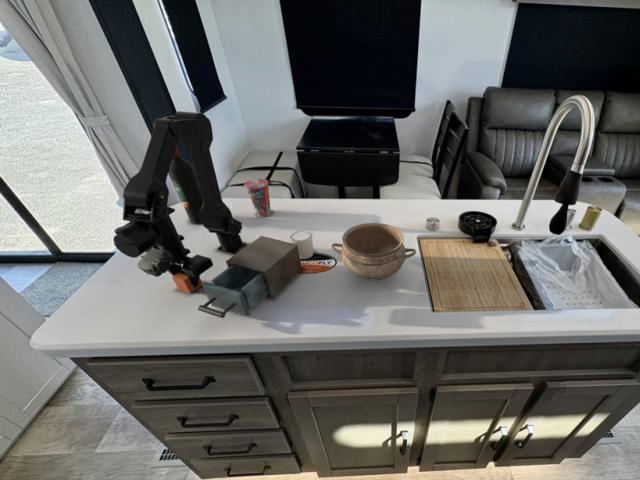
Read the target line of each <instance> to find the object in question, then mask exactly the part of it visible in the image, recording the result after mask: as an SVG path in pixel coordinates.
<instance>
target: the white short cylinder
mask: <svg viewBox="0 0 640 480" xmlns="http://www.w3.org/2000/svg"><path fill="white" fill-rule="evenodd" d="M289 239H290V243H292V244H296V245H298V250H299V255H300V260H307V259H310V258H312V257H313V256H314V241H313V239H314V238H313V233H312V232H310V231H308V230H297V231H294V232H292V233H291V234H290V235H289Z"/></svg>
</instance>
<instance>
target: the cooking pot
mask: <svg viewBox="0 0 640 480" xmlns="http://www.w3.org/2000/svg"><path fill="white" fill-rule="evenodd" d="M341 239H342V243H339V242H338V243H337V242H335V243H332V244H331V246H330V248H331V249H332V250H333V252H335V253H337V254H338V255H340V256H341V261H342V263H343V265H344V266H345V268H346V269H347V271H349V273H351V274H352V275H354V276H356V277H358V278H361V279H364V280H370V281H371V280H372V281H374V280H383V279H386V278H389V277H391V276H394V275H395V274H396V273H397V272H398V271H399V270H401V268H402V267H403V265H404V263H405V261H406V260H407V259H409V258H412V257H413V256H415V255H416V254H417V250H416V248H407V247H405V244H404V240H405V237H404V234H403V233H402V231H401V230H400V229H398V228H397V227H395V226H393V225H390V224H386V223H381V222H367V223H360V224H357V225H354V226H352V227H349V228H348V229H347V230H346V231H344V233H343V235H342V238H341ZM336 247H338V248H341V249H338V248H336ZM409 252H411V253H409ZM407 253H408V254H407Z"/></svg>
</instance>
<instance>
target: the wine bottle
mask: <svg viewBox="0 0 640 480" xmlns="http://www.w3.org/2000/svg"><path fill="white" fill-rule="evenodd" d="M168 175H169V176H170V178H171V180H172V183H173V185H174V187H175V189H176V192H177V194H178V197H179V199H180V201H181V204H182V206H183V208H184V211H185V213H186V215H187V217H188V219H189V221H190V223H191V224H193V225H203V224H202V223H201V220H200V216H199V214H198V210H201V209H202V206H203V199H202V195H201V191H200V188H199V184H198V181H197V177H196V174H195V170H194V166H193V163H191V162H190V161H189V160H187V159H185V158H183V157H182V155H181V152H180V150H179V148H178V146H177V147H176V150H175V153H174V156H173V159H172V163H171V166H170V169H169V172H168Z"/></svg>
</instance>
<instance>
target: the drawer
mask: <svg viewBox="0 0 640 480" xmlns="http://www.w3.org/2000/svg"><path fill="white" fill-rule="evenodd" d="M211 281H212V283H211V282H208V281H204V282H202V285H201V286H202V289H203V291H204V292H205V294H206V296H207V298H208V301H206V302H205V303H204V304H203V305H202V304H200V305H199V306H198V307H197V310H198V311H200V312H202V313H205V314H208V315H211V316H214V317H218V318H220V319H224V318H225V317H226V314H227V313H228V312H230V313H233V314H235V315H238V316H242V317H245V318H248V317H249V316H250V315H251V313H250V310H252V309H253V308H255V307H256V306H257V305H258V304H259V303H260V302H261V301H262V300H263V299H264V298H266V295H267V294H268V293H269V292H268V288H267V285H266V282H265V279H264V275H263V274H262V273H258V272H255V271H251V270H248V269H244V268H240V267H237V266H233V265H231V266H230V267H228V266H227V268H226V269H224V270H223V271H221V272H220V273H219V274H218V275H216V276H215V277H213V278H212V279H211ZM210 305H211V306H212V307H213V308H212V307H208V306H210ZM214 308H218V309H220V310H218V309H214ZM221 310H223V311H221Z"/></svg>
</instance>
